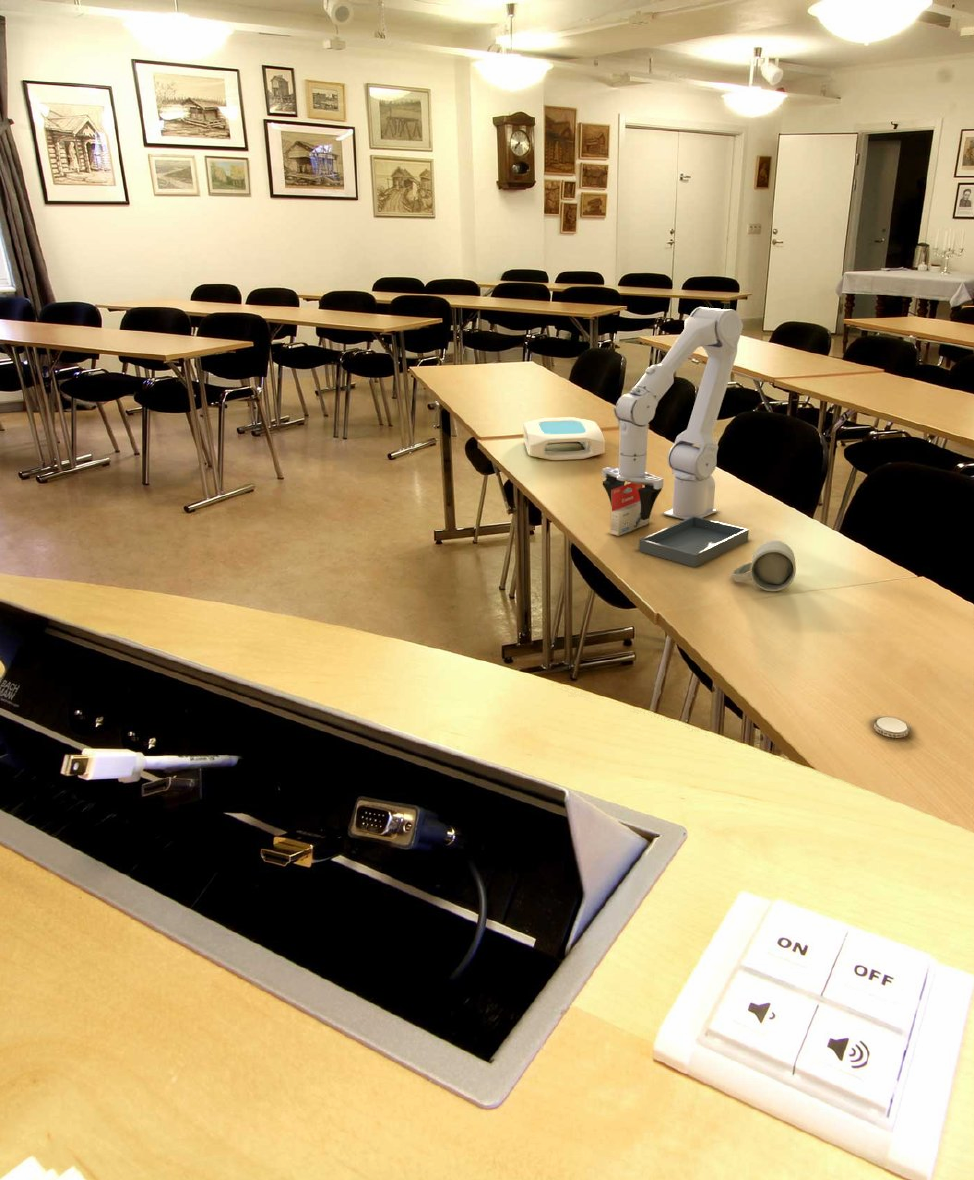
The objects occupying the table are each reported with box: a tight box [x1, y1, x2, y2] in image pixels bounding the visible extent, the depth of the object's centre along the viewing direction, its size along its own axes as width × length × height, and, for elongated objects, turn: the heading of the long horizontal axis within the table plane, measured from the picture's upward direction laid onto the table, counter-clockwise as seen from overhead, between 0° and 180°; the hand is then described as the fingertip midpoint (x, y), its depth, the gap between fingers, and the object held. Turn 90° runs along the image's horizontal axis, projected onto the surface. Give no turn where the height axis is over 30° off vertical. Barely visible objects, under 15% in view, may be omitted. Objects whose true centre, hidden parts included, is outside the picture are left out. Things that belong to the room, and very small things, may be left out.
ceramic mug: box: [731, 540, 797, 592], centre depth 150 cm, size 11×8×8 cm
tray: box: [638, 516, 750, 568], centre depth 170 cm, size 19×13×2 cm
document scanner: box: [522, 416, 606, 461], centre depth 246 cm, size 21×28×6 cm
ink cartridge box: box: [609, 482, 650, 537], centre depth 179 cm, size 2×11×10 cm, turn 134°
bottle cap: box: [873, 716, 910, 739], centre depth 107 cm, size 4×4×1 cm
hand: (630, 515), depth 180 cm, fingers open, 7 cm apart
